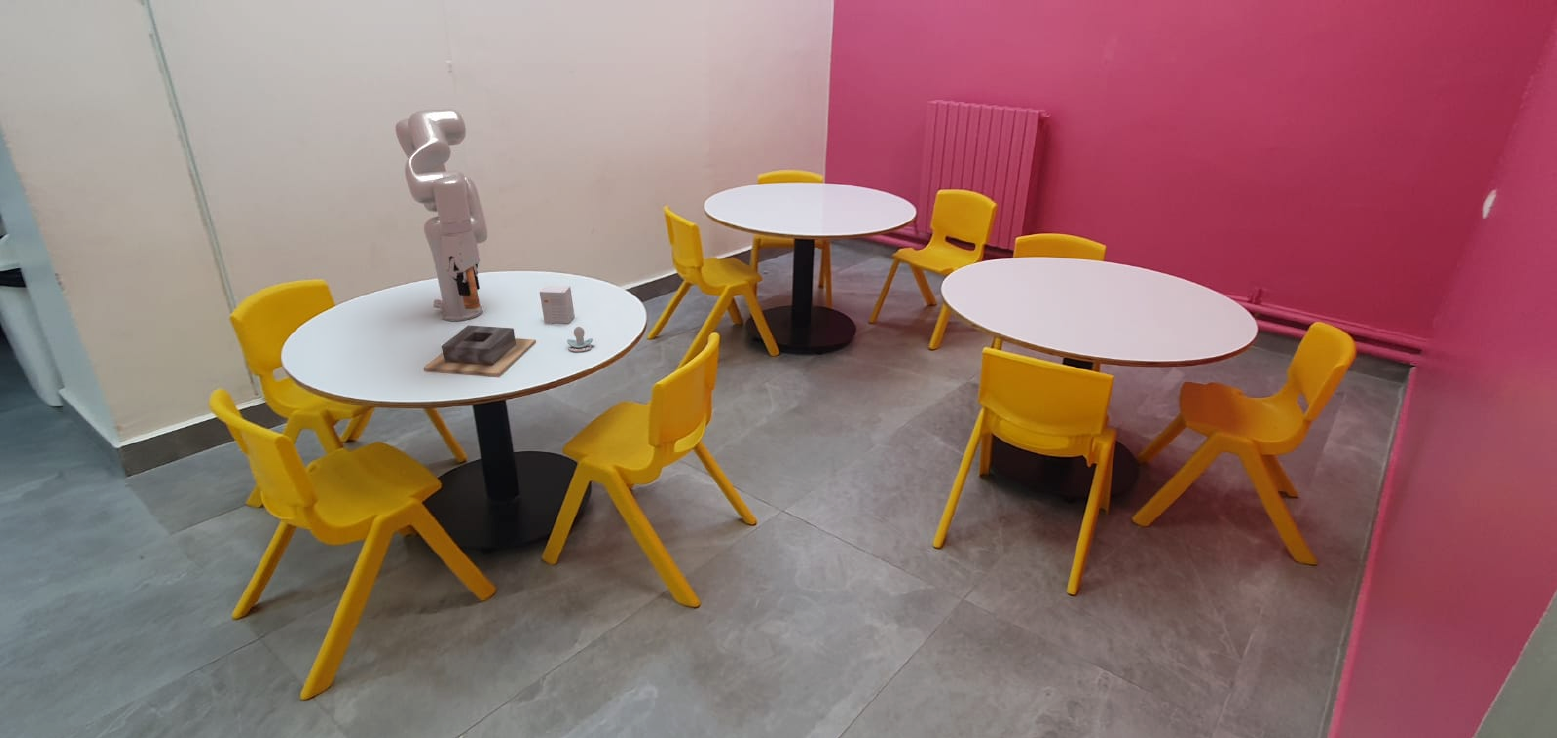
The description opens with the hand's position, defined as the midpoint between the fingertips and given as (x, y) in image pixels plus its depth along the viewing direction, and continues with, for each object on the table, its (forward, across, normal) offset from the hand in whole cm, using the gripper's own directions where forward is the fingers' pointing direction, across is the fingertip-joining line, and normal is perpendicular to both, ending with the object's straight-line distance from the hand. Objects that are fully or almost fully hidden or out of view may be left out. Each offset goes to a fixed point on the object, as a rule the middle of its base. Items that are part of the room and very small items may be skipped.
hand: (469, 291), depth 200 cm
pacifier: (+20, -10, +25) cm, 34 cm away
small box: (+20, -28, +11) cm, 36 cm away
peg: (+4, 0, 0) cm, 4 cm away
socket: (+19, 0, 0) cm, 19 cm away
